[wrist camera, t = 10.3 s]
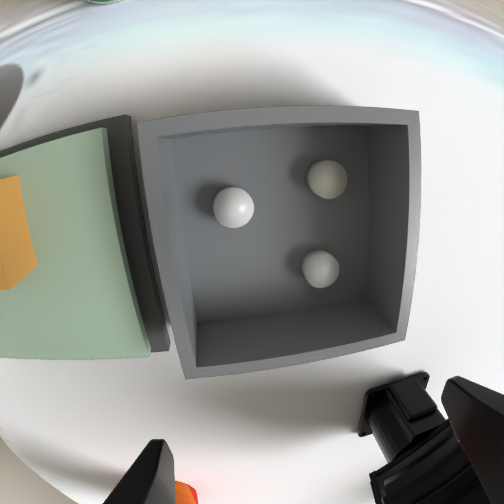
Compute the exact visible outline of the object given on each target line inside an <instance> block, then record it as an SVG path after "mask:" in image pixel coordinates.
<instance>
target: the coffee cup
mask: <svg viewBox="0 0 504 504" xmlns="http://www.w3.org/2000/svg"><path fill="white" fill-rule="evenodd" d="M175 493H176V504H198V499H197V493H196V490H195V489H194V488H193V487H191V486H189V485H187V484H184V483H181V482H177V481H175Z"/></svg>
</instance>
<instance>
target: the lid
mask: <svg viewBox="0 0 504 504" xmlns="http://www.w3.org/2000/svg"><path fill="white" fill-rule="evenodd" d="M150 351H151V347H150V344H149V340H148V337H147V333H146V330H145V327H144V323H143V319H142V316H141V312H140V308H139V305H138V301H137V297H136V293H135V289H134V285H133V281H132V277H131V273H130V268H129V264H128V259H127V255H126V250H125V245H124V240H123V235H122V230H121V225H120V220H119V214H118V208H117V203H116V196H115V190H114V184H113V177H112V170H111V162H110V154H109V145H108V136H107V128H98V129H93V130H89V131H85V132H81V133H78V134H74V135H70V136H67V137H63V138H60V139H56V140H53V141H49V142H46V143H43V144H40V145H37V146H33V147H30V148H27V149H24V150H21V151H19V152H16V153H13V154H10V155H7V156H5V157H2V158H0V358H17V359H52V360H81V359H118V358H138V357H149V355H150Z"/></svg>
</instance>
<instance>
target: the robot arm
mask: <svg viewBox="0 0 504 504" xmlns="http://www.w3.org/2000/svg"><path fill="white" fill-rule="evenodd" d="M429 377H430V376H429V374H428V373H427V372H424V373H421V374H418V375H415V376H412V377H409V378H406V379H403V380H400V381H397V382H394V383H390V384H387V385H384V386H380V387H377V388H374V389H371V390H369V391H367V393H366V395H365V400H364V405H363V409H362V414H361V418H360V423H359V427H358V431H357V434H358V436H359V437H363V436H367V435H370V434H373V435H374V437H375V439H376V441H377V443H378V445H379V447H380V449H381V451H382V453H383V454H384V456H385V458H386V460H387V462H388V464H386V465H385V466H383V467H381V468H380V469H378V470H377V471H373V472H372V473H370V474H369V476H370V479H371V482H370V483H371V487H372V491H373V495H374V499H375V503H376V504H504V395H503V394H501V393H498V392H496V391H493V390H491V389H489V388H486V387H484V386H481V385H479V384H477V383H474V382H472V381H469V380H467V379H465V378H462V377H460V376H455V377H452V378H450V379H448V380H447V381H446V384H445V387H444V390H443V393H442V396H441V401H442V404H443V406H444V409H445V411H446V413H447V416H448V419H447V420H446V419H445V418H444V417H443V415H442V414H441V413H440V411H439V410H438V409H437V405H436V403H435V402H434V401H433V399H432V398H431V397H430V395H429V394H428V393H427V392H426V390H425V389H426V386H427V383H428V380H429ZM458 440H459V441H458ZM103 504H176V493H175V476H174V458H173V454H172V452H171V450H170V448H169V446H168V444H167V442H166V441H165V440H164V439H152V440H150V441H149V443H148V444H147V445H146V447H145V448H144V450H143V451H142V452H141V454H140V455H139V456H138V458H137V459H136V460H135V462H134V463H133V464H132V466H131V467H130V468H129V470H128V471H127V472H126V474H125V475H124V476H123V478H122V479H121V480H120V482H119V483H118V484H117V486H116V487H115V488H114V490H113V491H112V492H111V493H110V495H109V496H108V497H107V499H106V500H105V501H104V503H103Z"/></svg>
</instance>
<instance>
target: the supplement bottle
mask: <svg viewBox="0 0 504 504" xmlns="http://www.w3.org/2000/svg"><path fill="white" fill-rule="evenodd" d="M86 1H89V2H92V3H97V4H111V3H117V2H120V1H123V0H86Z"/></svg>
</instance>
